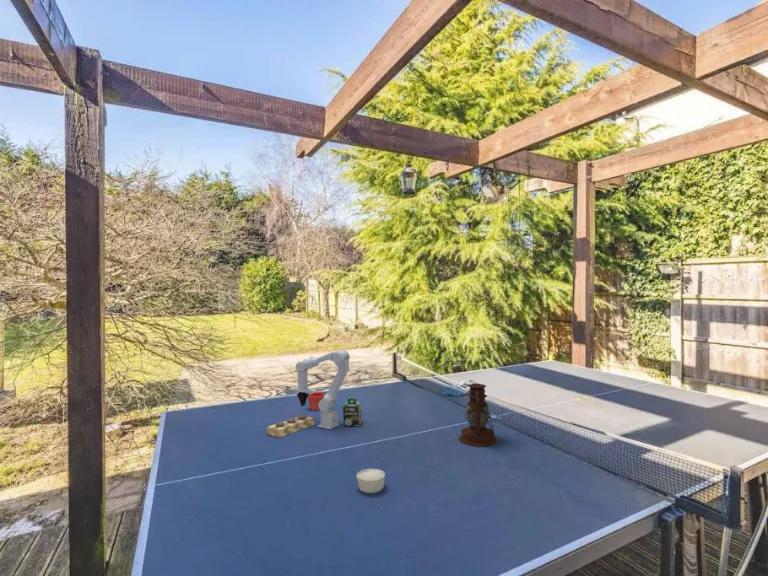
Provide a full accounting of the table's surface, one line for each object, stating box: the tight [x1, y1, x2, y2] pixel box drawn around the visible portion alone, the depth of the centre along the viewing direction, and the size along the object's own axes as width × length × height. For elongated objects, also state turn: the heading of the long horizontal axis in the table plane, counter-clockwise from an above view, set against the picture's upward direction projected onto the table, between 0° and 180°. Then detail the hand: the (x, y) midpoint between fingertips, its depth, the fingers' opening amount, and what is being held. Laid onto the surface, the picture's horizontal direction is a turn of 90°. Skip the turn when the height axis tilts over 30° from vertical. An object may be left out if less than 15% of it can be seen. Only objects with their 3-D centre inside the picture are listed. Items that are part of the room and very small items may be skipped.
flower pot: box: [307, 391, 326, 411], centre depth 276 cm, size 11×11×10 cm
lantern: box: [458, 379, 498, 448], centre depth 215 cm, size 19×19×30 cm
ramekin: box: [356, 468, 386, 494], centre depth 165 cm, size 11×11×5 cm
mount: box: [266, 415, 316, 439], centre depth 236 cm, size 26×10×4 cm, turn 145°
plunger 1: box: [275, 421, 284, 427], centre depth 230 cm, size 4×4×5 cm
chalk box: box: [342, 398, 363, 427], centre depth 244 cm, size 9×9×15 cm
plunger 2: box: [287, 417, 295, 423], centre depth 236 cm, size 4×4×5 cm
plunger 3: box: [297, 414, 307, 419], centre depth 243 cm, size 4×4×5 cm
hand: (303, 405), depth 246 cm, fingers closed
